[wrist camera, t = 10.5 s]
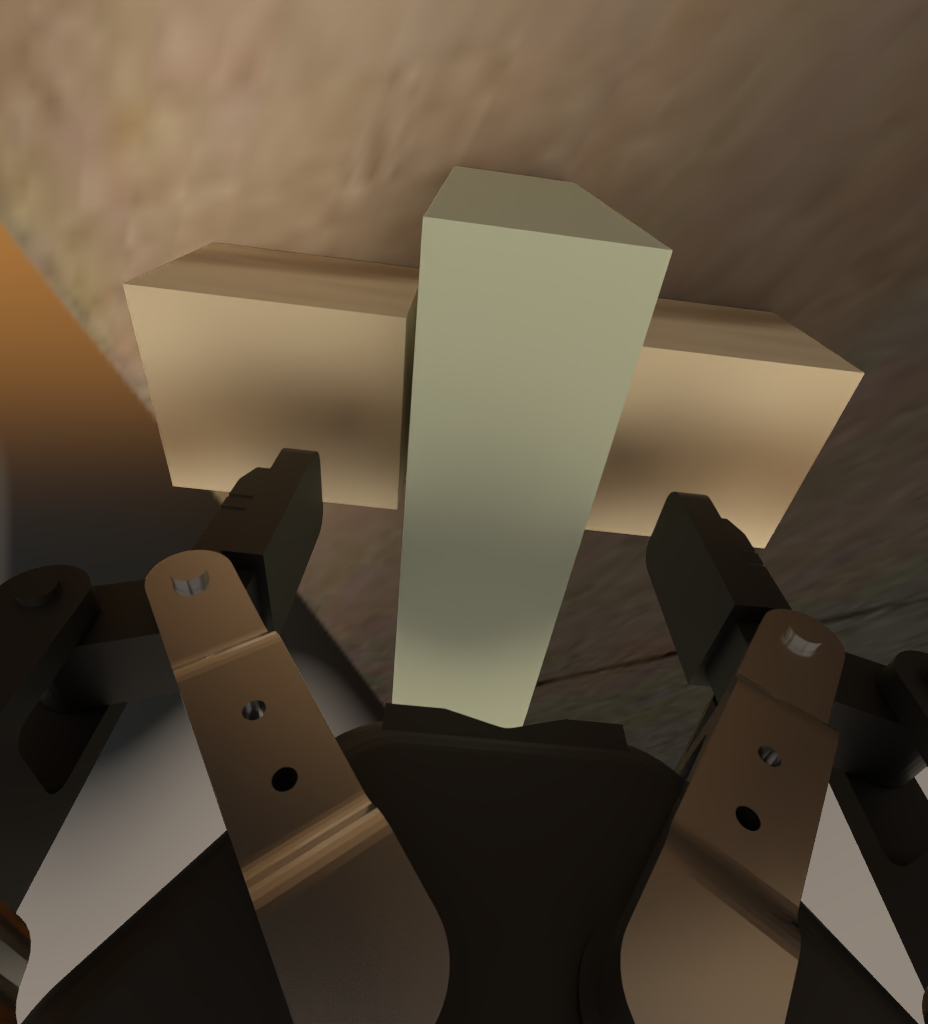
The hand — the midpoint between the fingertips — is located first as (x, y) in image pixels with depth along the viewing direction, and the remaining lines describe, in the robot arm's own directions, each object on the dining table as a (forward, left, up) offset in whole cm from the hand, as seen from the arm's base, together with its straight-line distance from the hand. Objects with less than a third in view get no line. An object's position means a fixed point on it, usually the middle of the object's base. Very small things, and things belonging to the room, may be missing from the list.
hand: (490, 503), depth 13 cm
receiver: (0, 0, -9) cm, 9 cm away
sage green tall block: (0, 0, -8) cm, 8 cm away
